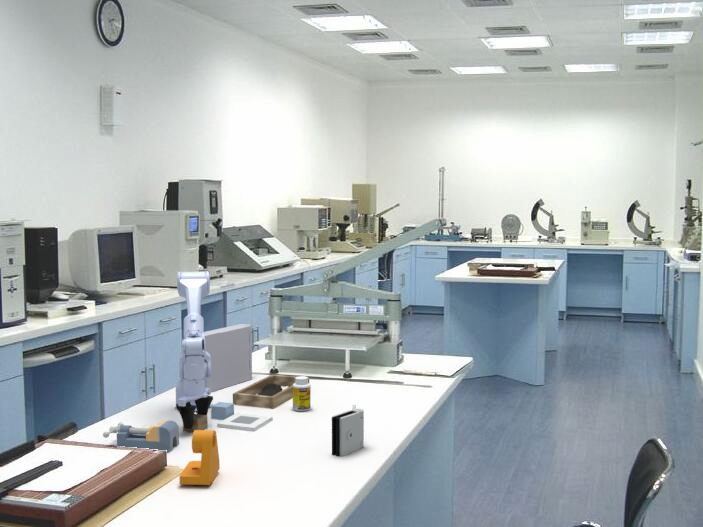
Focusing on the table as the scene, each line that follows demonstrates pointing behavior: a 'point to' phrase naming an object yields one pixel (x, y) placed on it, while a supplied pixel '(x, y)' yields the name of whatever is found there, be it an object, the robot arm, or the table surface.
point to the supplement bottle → (301, 394)
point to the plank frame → (251, 399)
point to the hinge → (347, 431)
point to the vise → (147, 436)
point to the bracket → (202, 459)
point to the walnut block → (198, 423)
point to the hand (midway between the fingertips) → (195, 424)
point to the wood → (270, 389)
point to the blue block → (222, 410)
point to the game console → (229, 355)
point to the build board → (245, 421)
